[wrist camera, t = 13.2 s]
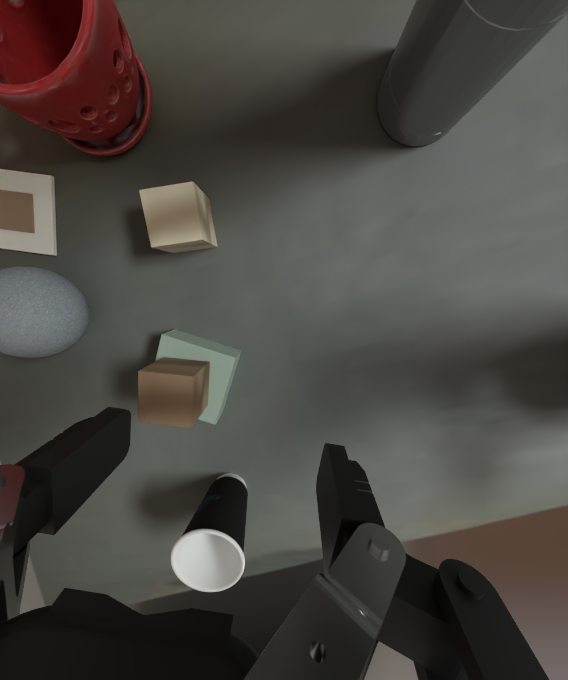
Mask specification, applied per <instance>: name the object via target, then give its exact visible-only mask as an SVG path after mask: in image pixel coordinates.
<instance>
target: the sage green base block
mask: <svg viewBox="0 0 568 680" xmlns="http://www.w3.org/2000/svg"><path fill="white" fill-rule="evenodd" d="M240 353H241V351H240V350H237V349H234V348H231V347H228V346H225V345H222V344H219V343H216V342H213V341H209V340H206V339H203V338H200V337H197V336H194V335H191V334H188V333H185V332H182V331H179V330H176V329H174V330H172V331H169V332H166V333H164V334H162V335H161V339H160V344H159V348H158V352H157V356H156V360H155V361H157V360H159V359H161V358H163V357H169V358H179V359H189V360H199V361H209V362H210V371H209V394H208V406H207V407H206V408H205V410H204V411H203V413H202V414H201V415H200V417H199V418H198V419H199V420H202V421H205V422H208V423H212V424H215V425H216V423H217V421H218V419H219V418H220V416H221V414H222V412H223V409H224V406H225V403H226V400H227V396H228V393H229V390H230V386H231V383H232V380H233V376H234V373H235V370H236V367H237V363H238V360H239V357H240Z"/></svg>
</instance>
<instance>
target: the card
mask: <svg viewBox="0 0 568 680" xmlns="http://www.w3.org/2000/svg"><path fill="white" fill-rule="evenodd" d="M0 248H2V249H10V250H17V251H25V252H32V253H40V254H47V255H55V256H57V245H56V213H55V182H54V177H53V176H50V175H43V174H35V173H27V172H20V171H12V170H5V169H0Z"/></svg>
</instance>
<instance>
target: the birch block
mask: <svg viewBox="0 0 568 680" xmlns="http://www.w3.org/2000/svg"><path fill="white" fill-rule="evenodd" d="M139 192H140V197H141V202H142V206H143V211H144V216H145V220H146V225H147V230H148V234H149V239H150V243H151V247H152V248H156V249H159V250H163V251H167V252H170V253H180V252H187V251H194V250H201V249H208V248H215V247H217V242H216V236H215V230H214V224H213V218H212V212H211V207H210V201H209V198H208V197H207V196H206V195H205V194H204V193H203V192H202V191H201V190H200V189H199V188H198V186H197V185H196V184H195V183H194V182H193V181H192V182H186V183H180V184H174V185H167V186H161V187H155V188H149V189H142V190H139Z"/></svg>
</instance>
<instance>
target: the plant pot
mask: <svg viewBox="0 0 568 680" xmlns="http://www.w3.org/2000/svg"><path fill="white" fill-rule="evenodd" d="M0 79H1V80H2V81H3V82H4V83H5V84H3V83H0V104H1V105H3V106H4V107H6V108H8V109H9V110H11V111H13V112H14V113H16V114H18V115H20V116H21V117H23V118H25V119H27V120H28V121H30V122H32V123H34V124H36V125H38V126H41V127H43V128H45V129H47V130H49V131H52V132H54V133H56V134H59V135H61V136H62V137H63V138H64V139H65V140H66V141H67V142H68V143H70V144H71V145H72V146H74V147H76V148H77V149H79V150H81V151H83V152H86V153H89V154H92V155H97V156H112V155H117V154H120V153H123V152H125V151H127V150H129V149H130V148H132V147H133V146H134V145H135V144H136V143H137V142H138V141H139V140H140V139H141V137H142V136H143V134H144V133H145V131H146V129H147V126H148V124H149V120H150V116H151V110H152V95H151V88H150V83H149V80H148V77H147V74H146V72H145V69H144V67H143V65H142V64H141V62H140V60H139V58H138V57H137V56H136V54H135V53H134V51H133V47H132V44H131V41H130V38H129V36H128V33H127V31H126V28H125V26H124V23H123V21H122V19H121V16H120V14H119V12H118V10H117V7H116V5H115V3H114V1H113V0H20V1H18V2H11V1H9V0H0Z"/></svg>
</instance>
